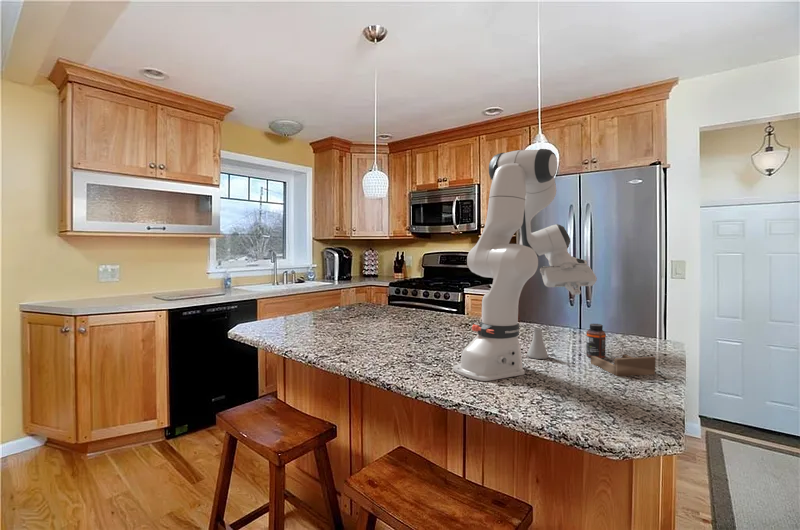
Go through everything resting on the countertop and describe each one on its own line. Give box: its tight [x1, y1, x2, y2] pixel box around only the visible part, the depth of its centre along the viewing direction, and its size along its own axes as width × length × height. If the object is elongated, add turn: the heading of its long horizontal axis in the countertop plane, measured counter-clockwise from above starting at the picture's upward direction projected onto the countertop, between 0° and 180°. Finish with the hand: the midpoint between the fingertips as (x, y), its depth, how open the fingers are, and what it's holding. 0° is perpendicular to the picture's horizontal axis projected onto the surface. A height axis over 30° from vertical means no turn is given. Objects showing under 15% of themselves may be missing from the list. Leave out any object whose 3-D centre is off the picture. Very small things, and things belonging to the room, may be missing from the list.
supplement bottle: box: [585, 323, 607, 359], centre depth 136 cm, size 6×6×11 cm
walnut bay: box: [590, 354, 656, 377], centre depth 124 cm, size 13×12×5 cm
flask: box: [526, 326, 549, 360], centre depth 137 cm, size 7×7×10 cm
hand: (576, 293), depth 148 cm, fingers closed
